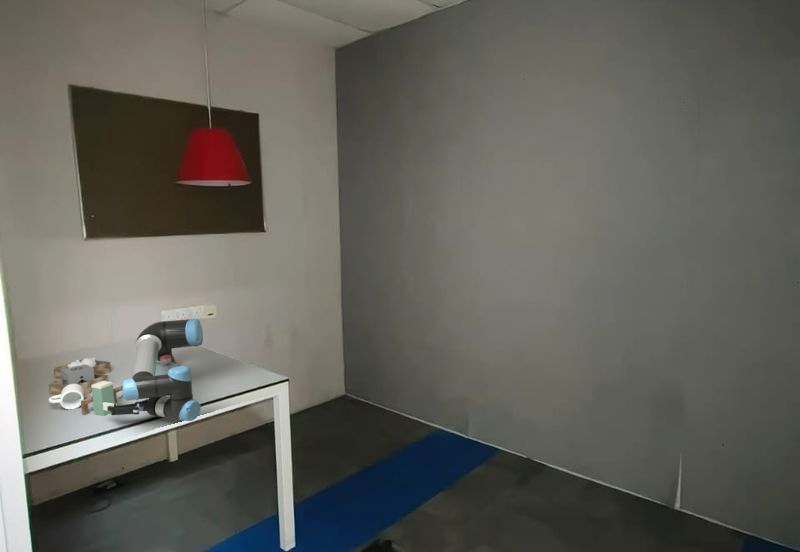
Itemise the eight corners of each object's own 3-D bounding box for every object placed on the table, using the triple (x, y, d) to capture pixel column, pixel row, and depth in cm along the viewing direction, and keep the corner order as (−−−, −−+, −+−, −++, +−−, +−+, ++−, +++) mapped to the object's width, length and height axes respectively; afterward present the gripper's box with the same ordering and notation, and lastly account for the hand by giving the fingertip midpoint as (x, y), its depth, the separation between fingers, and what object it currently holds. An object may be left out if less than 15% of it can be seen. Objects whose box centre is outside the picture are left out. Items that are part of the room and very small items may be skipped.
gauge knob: (166, 362, 217) (165, 355, 217) (171, 363, 216) (170, 355, 216) (160, 364, 214) (160, 356, 214) (165, 364, 213) (165, 357, 213)
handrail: (139, 391, 216) (138, 379, 215) (142, 391, 215) (141, 379, 215) (82, 414, 191) (80, 401, 190) (85, 414, 190) (83, 401, 190)
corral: (85, 368, 251) (84, 358, 250) (138, 375, 238) (137, 365, 238) (19, 389, 221) (18, 378, 220) (75, 397, 209) (74, 386, 208)
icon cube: (62, 391, 217) (60, 369, 216) (87, 385, 225) (85, 364, 224) (70, 396, 211) (67, 374, 210) (95, 389, 219) (93, 368, 218)
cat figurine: (66, 358, 235) (95, 353, 242) (67, 365, 244) (95, 360, 250) (68, 375, 233) (97, 370, 239) (69, 381, 241) (98, 376, 247)
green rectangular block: (105, 409, 195) (103, 380, 194) (115, 411, 194) (113, 382, 192) (94, 414, 190) (91, 385, 189) (103, 416, 189) (101, 386, 187)
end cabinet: (149, 384, 224) (147, 359, 223) (180, 388, 218) (178, 362, 217) (137, 389, 218) (134, 363, 217) (168, 394, 212) (166, 367, 210)
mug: (84, 399, 206) (83, 381, 206) (84, 407, 198) (82, 388, 197) (50, 406, 200) (48, 387, 199) (48, 414, 192) (46, 394, 191)
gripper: (134, 429, 170) (90, 421, 177) (187, 403, 193) (146, 397, 200) (132, 409, 169) (89, 402, 176) (186, 385, 192) (145, 380, 200)
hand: (119, 399), depth 188 cm, fingers open, 13 cm apart
